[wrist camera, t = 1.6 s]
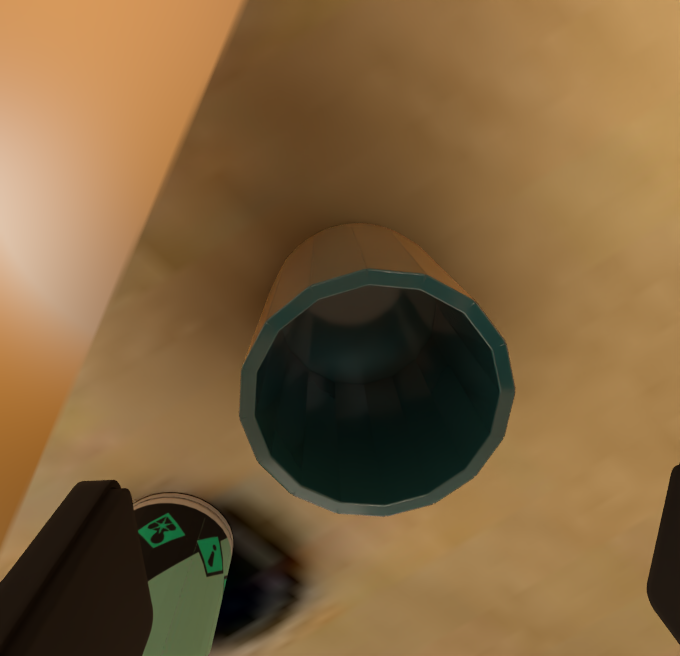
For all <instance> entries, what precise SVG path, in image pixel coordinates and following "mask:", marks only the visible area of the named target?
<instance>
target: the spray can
mask: <svg viewBox="0 0 680 656" xmlns="http://www.w3.org/2000/svg"><path fill="white" fill-rule="evenodd" d="M133 508H134V513H135V518H136V523H137V528H138V534H139V539H140V544H141V549H142V554H143V560H144V565H145V570H146V575H147V580H148V585H149V591H150V596H151V601H152V606H153V624H152V629H151V632H150V636H149V638H148V641H147V644H146V647H145V649H144V652H143V655H142V656H209V655H210V650H211V646H212V642H213V637H214V633H215V628H216V624H217V619H218V615H219V610H220V606H221V601H222V597H223V592H224V588H225V584H226V579H227V575H228V570H229V566H230V561H231V556H232V549H233V535H232V532H231V529H230V526H229V525H228V523H227V521H226V519H225V518H224V517H223V516H222V515H221V514H220V512H219V511H218V510H216V509H215V508H214V507H212V506H211V505H210V504H208V503H206V502H204V501H202V500H200V499H198V498H195V497H192V496H189V495H184V494H178V493H163V494H157V495H152V496H149V497H146V498H143V499H141V500H140V501H138V502H136V503H134V504H133Z"/></svg>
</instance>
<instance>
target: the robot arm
mask: <svg viewBox="0 0 680 656" xmlns="http://www.w3.org/2000/svg"><path fill="white" fill-rule="evenodd" d="M647 594H648V598H649V601H650V603H651V606H652V607H653V609H654V610H655V612H656V613H657V614H658V616H659V617H660V619H661V620H662V621H663V623H664V624H665V625H666V627H667V628H668V629H669V631H670V632H671V633H672V635H673V636H674V638H675V639H676V640H677V642H678V643H679V644H680V464H679V465H677V466H675V467H674V468H673V470H672V473H671V477H670V481H669V486H668V490H667V495H666V500H665V504H664V509H663V513H662V518H661V522H660V527H659V532H658V536H657V541H656V545H655V550H654V554H653V559H652V563H651V568H650V573H649V577H648V582H647ZM152 624H153V606H152V601H151V596H150V591H149V585H148V580H147V575H146V570H145V565H144V560H143V554H142V549H141V544H140V539H139V534H138V528H137V523H136V518H135V513H134V508H133V503H132V497H131V494H130V491H129V490H128V489H126V488H122V489H121V487H120V485H119V483H118V482H117V481H115V480H101V481H82V482H79V483H77V484H76V485H75V486H74V488H73V489H72V490H71V491H70V493H69V494H68V495H67V497H66V498H65V499H64V501H63V502H62V503H61V505H60V506H59V507H58V508H57V510H56V511H55V512H54V514H53V515H52V516H51V518H50V519H49V520H48V522H47V523H46V524H45V525H44V527H43V528H42V529H41V531H40V532H39V533H38V535H37V536H36V537H35V539H34V540H33V541H32V542H31V544H30V545H29V546H28V548H27V549H26V550H25V552H24V553H23V554H22V556H21V557H20V558H19V560H18V561H17V562H16V563H15V565H14V566H13V567H12V569H11V570H10V571H9V573H8V574H7V575H6V577H5V578H4V579H3V580H2V581H1V582H0V656H142V655H143V652H144V649H145V647H146V644H147V641H148V638H149V636H150V632H151V629H152Z"/></svg>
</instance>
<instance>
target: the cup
mask: <svg viewBox="0 0 680 656" xmlns="http://www.w3.org/2000/svg"><path fill="white" fill-rule="evenodd" d="M514 396H515V384H514V379H513V374H512V369H511V364H510V358H509V353H508V348H507V344H506V342H505V340H504V338H503V337H502V336H501V334H500V333H499V332H498V330H497V329H496V328H495V326H494V325H493V323H492V322H491V321H490V319H489V318H488V317H487V315H486V314H485V313H484V311H483V310H482V309H481V307H480V306H479V305H478V303H477V302H476V301H475V300H474V299H473V298H472V297H471V296H470V295H469V294H468V293H467V292H466V291H465V290H464V289H463V288H462V287H461V286H460V285H459V284H458V283H457V282H456V281H455V280H453V279H452V278H451V277H450V276H449V275H448V274H447V273H446V272H445V271H444V270H443V269H442V268H441V267H440V266H439V265H438V264H437V263H436V262H435V261H434V260H433V259H432V258H431V257H430V256H429V255H428V254H427V253H426V252H425V251H424V250H423V249H422V248H421V247H420V246H419V245H418V244H416V243H414V242H412V241H411V240H409V239H408V238H406V237H405V236H403V235H402V234H400V233H398V232H396V231H394V230H392V229H389V228H386V227H383V226H380V225H374V224H368V223H349V224H342V225H337V226H333V227H330V228H327V229H325V230H322V231H320V232H318V233H316V234H314V235H313V236H311V237H309V238H308V239H307V240H305V241H304V242H302V243H301V244H300V245H299V246H298V247H297V248H296V249H295V250H294V251H293V252H292V253H291V254H290V255H289V256H288V257H287V259H286V260H285V262H284V264H283V266H282V267H281V269H280V271H279V273H278V276H277V278H276V280H275V282H274V284H273V286H272V288H271V290H270V293H269V295H268V298H267V301H266V303H265V306H264V309H263V311H262V314H261V317H260V319H259V322H258V325H257V327H256V330H255V333H254V335H253V338H252V341H251V343H250V346H249V349H248V351H247V354H246V356H245V359H244V362H243V364H242V368H241V379H240V403H239V417H240V421H241V424H242V426H243V428H244V431H245V433H246V436H247V438H248V440H249V443H250V445H251V448H252V450H253V452H254V455H255V457H256V460H257V461H258V462H259V464H260V465H261V466H262V467H263V468H264V469H265V470H266V471H268V472H269V473H270V474H271V475H272V476H273V477H274V478H275V479H276V480H277V481H278V482H279V483H280V484H281V485H282V486H283V487H284V488H285V489H286V490H287V491H288V492H289V493H290V494H293V496H296V497H298V498H300V499H303V500H305V501H308V502H310V503H312V504H315V505H317V506H319V507H322V508H324V509H327V510H329V511H331V512H334V513H338V514H349V515H365V516H381V517H385V516H391V515H395V514H399V513H402V512H406V511H410V510H414V509H418V508H421V507H425V506H429V505H432V504H433V503H436V502H438V501H440V500H441V499H443V498H444V497H446V496H447V495H449V494H450V493H452V492H453V491H455V490H456V489H458V488H459V487H461V486H462V485H464V484H465V483H467V482H468V481H470V480H471V479H473V478H474V476H476V475H477V474H478V472H479V471H480V470H481V468H482V467H483V466H484V464H485V463H486V462H487V460H488V459H489V458H490V456H491V455H492V454H493V452H494V451H495V449H496V448H497V447H498V445H499V444H500V443H501V441H502V440H503V437H504V436H505V432H506V428H507V424H508V420H509V416H510V412H511V408H512V404H513V400H514Z"/></svg>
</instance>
